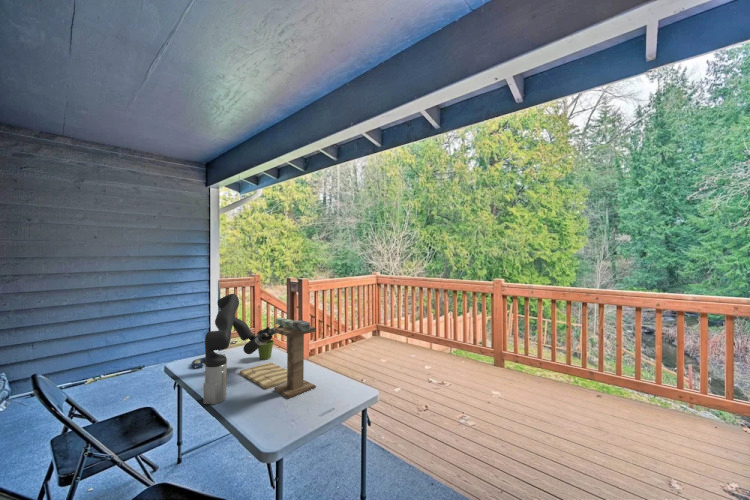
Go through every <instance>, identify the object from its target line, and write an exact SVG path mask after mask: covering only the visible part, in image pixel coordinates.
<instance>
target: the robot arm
mask: <svg viewBox="0 0 750 500" xmlns="http://www.w3.org/2000/svg"><path fill="white" fill-rule="evenodd" d="M216 302H217V306H218V309H219V311H218V313H217V314H216V317H215V319H214V324H215V326H216V328H217V329H218V330H211V331H207V332H206V334H205V337H204V349H205V352H204V354H205V365H204V367H205V371H204V383H203V402H202V403H203V405H204V404H205V405H217V404H218V403H222V402H223V401H225V400H227V367H228V366H227V363H228V362H227V361H228V360H227V356H226V355H225V356H223V355H220V354H221V353H218V352H215V351H223V350H227V349H228V348H229V346H230V344H231V338H232V337H231V336H232V329H233V328H234V330H235V331H236V333H237V335H238V336H239V338H240V340H241V341H246V340H249V341H248V342H246V343H245V344H244V345H243V348H242V349H243V352H244V353H245V354H247V355H252V354H254V352H256V351H258V348H259V347H261V346H262V345H263V344H265V343H267V342H268V341H269V340H273V339H272V338H273V336H274V335H275V334H278V333H275V329H276V328H282V327H284V326H281V325H278V326H277V327H276V326H274V327H273V328H270V326H267V327H266V328H263V329H260V330H259V331H258V332H256V335H254V333H253V332H252V330H251V329H250V327H249V325H248V324H247V323H246V322H245V321H244V320H242V319H241V318H238V317H237V316H236V313H237V310H238V308H239V307H240V299H239V297H238V295H237V294H235V293H229V294H226V295H225V296H222V297H220V298H219V299H218V300H217V301H216ZM278 335H279V334H278Z"/></svg>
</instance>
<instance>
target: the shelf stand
mask: <svg viewBox="0 0 750 500" xmlns="http://www.w3.org/2000/svg"><path fill="white" fill-rule="evenodd" d="M274 330H275V333H276V334H277V333H278V335H282V336H283V337H284V336H285V337H287V353H286V354H287V357H286V360H287V363H286V370H287V383H284V384H281V385H278V386H275V387H273V388H274V389H273V390H274V391H275V392H276V393H278V394H280V395H282V396H284V397H286V398H287V399H289V400H290V399H292V398H295V397H297V395H298V396H300V395H302V393H303V394H304V392H305V393H307V391H308V392H309V390H310V391H312V390H311V389H313V390H315V389H316V387H317V385H315V384H313V383H312V382H309V381H308V380H305V379H304V370H305V369H304V367H305V364H304V361H305V359H304V356H305V355H304V353H305V351H304V350H305V346H304V345H305V344H304V343H305V335H306V334H311V333H317V327H315V326H311V325H310V330H308V331H304V332H300V331H297V330H293V329H291V328H288V327H282V328H276V329H274ZM314 388H315V389H314Z"/></svg>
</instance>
